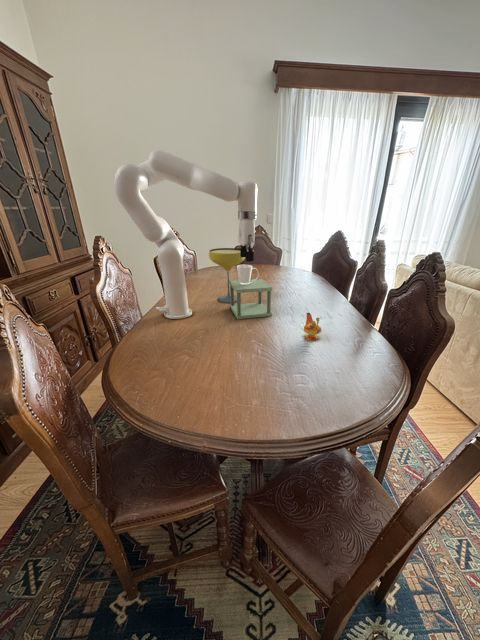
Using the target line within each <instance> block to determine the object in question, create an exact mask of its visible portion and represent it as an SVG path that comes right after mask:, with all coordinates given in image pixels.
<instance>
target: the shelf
mask: <svg viewBox="0 0 480 640" xmlns="http://www.w3.org/2000/svg"><path fill="white" fill-rule="evenodd" d="M256 279H257V278H252V279H251V278H250V281H249V282H248V283H251V282H253V281H254V280H256ZM240 283H241V282H240V281H239V279H233V280H229V291H230V296H231V303H230V305H229V308H230V310H231V311H232V313H233V314H234V316H235V318H236V319H237V320H243V319H246V320H247V319H253V318H254V319H255V318H265V317H266V318H267V317H272V312H271V309H272V308H271V305H272V291H273V287H272V285H270V284H269V283H268V282H267V281H265V280H264V279H262V278H258V279H257V280H256V281H255V282H254V283H252V284H249V285H241V284H240ZM257 292H258V294H257V295H258V296H257V297H258V298H257V299H258V300H257V302H248V303H247V302H246V303H242V301H241V300H242V298H241V297H242V296H241V294H244V293H257ZM262 292H267V294H266V306H265V305H264V304H263V302H262V300H263V299H262V297H263V296H262ZM235 293H236V297H237V302H236V304H235V302H234V296H235Z"/></svg>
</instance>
